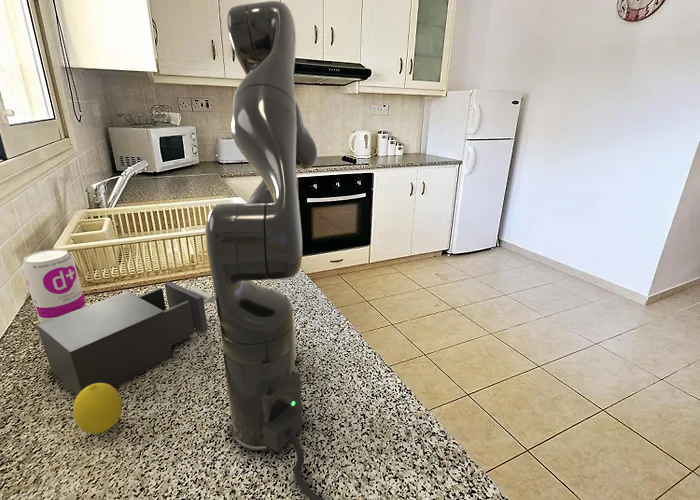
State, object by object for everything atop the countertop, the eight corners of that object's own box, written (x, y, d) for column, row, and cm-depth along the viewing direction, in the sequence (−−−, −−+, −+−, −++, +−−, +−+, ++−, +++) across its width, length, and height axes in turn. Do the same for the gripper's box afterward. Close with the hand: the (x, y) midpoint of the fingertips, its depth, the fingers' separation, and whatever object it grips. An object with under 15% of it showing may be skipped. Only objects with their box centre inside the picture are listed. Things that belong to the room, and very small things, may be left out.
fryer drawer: (192, 305, 85) (187, 274, 82) (225, 321, 79) (221, 288, 76) (109, 343, 71) (100, 307, 68) (141, 365, 65) (133, 327, 62)
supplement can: (95, 317, 81) (79, 253, 75) (51, 335, 74) (29, 267, 69) (77, 306, 85) (60, 245, 79) (34, 323, 78) (12, 257, 73)
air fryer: (136, 333, 76) (127, 291, 72) (172, 356, 69) (164, 310, 66) (51, 372, 64) (36, 324, 61) (85, 403, 58) (69, 352, 54)
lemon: (105, 449, 50) (92, 403, 47) (71, 442, 51) (55, 396, 48) (135, 418, 55) (124, 375, 53) (103, 412, 56) (91, 369, 54)
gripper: (236, 193, 89) (197, 255, 84) (276, 201, 82) (236, 270, 77) (254, 210, 95) (219, 269, 90) (293, 219, 88) (257, 284, 83)
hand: (227, 269), depth 84 cm, fingers closed
